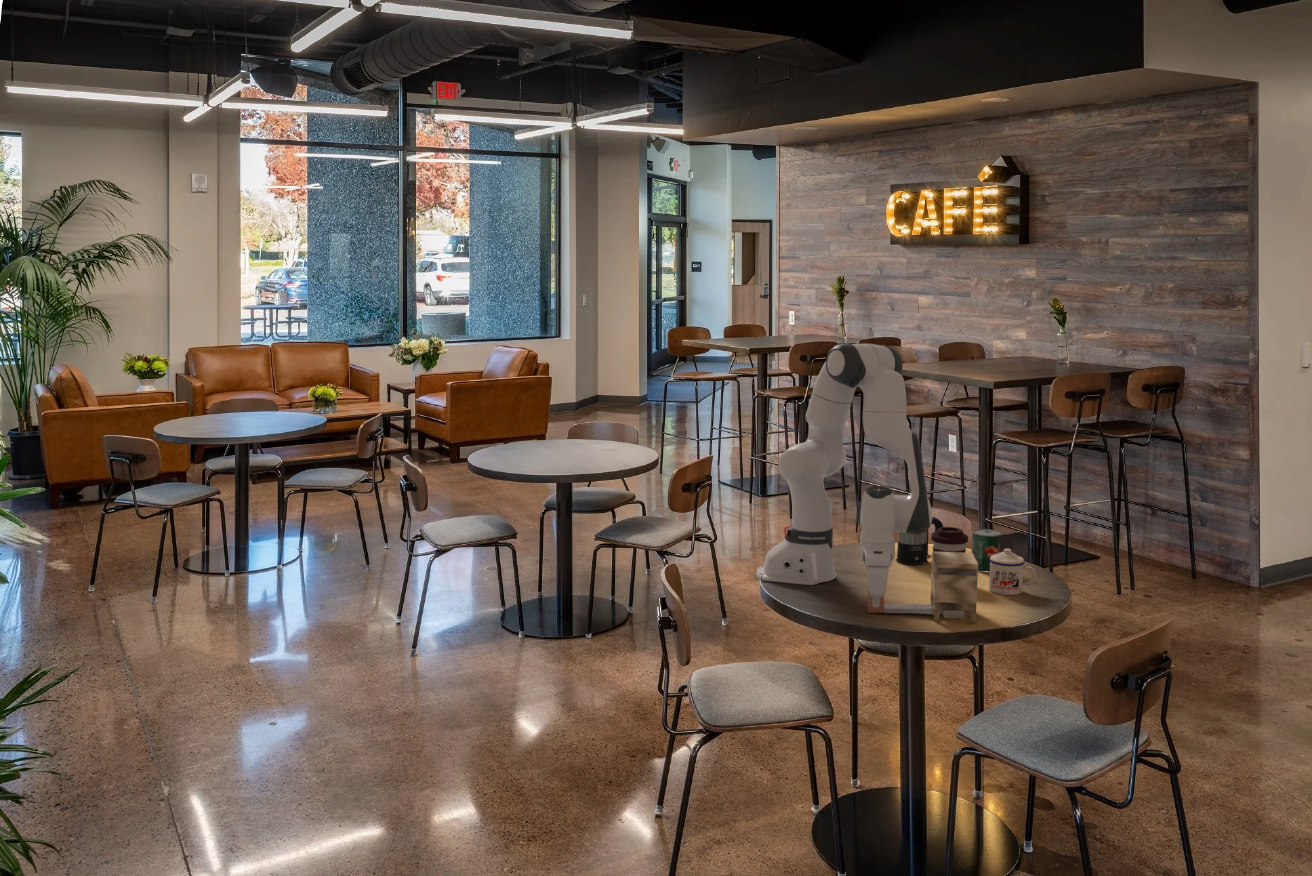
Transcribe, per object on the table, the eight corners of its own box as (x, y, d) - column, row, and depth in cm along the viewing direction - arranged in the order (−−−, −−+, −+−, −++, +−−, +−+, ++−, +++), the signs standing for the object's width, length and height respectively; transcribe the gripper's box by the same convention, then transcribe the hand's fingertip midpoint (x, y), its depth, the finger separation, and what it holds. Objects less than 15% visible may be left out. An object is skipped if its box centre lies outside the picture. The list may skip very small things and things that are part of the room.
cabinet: (934, 621, 273) (936, 563, 271) (930, 607, 284) (932, 551, 282) (975, 623, 272) (978, 564, 269) (970, 609, 283) (972, 552, 281)
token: (944, 619, 276) (944, 610, 276) (940, 613, 281) (940, 604, 281) (964, 620, 276) (964, 610, 275) (960, 613, 281) (960, 604, 280)
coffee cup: (967, 587, 302) (969, 534, 300) (930, 585, 304) (932, 532, 302) (964, 577, 312) (967, 526, 309) (928, 575, 314) (930, 524, 311)
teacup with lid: (987, 594, 296) (989, 552, 294) (988, 585, 305) (990, 544, 303) (1035, 598, 292) (1037, 555, 291) (1034, 588, 301) (1036, 547, 299)
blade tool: (868, 613, 280) (867, 594, 279) (867, 608, 283) (867, 589, 282) (941, 613, 277) (940, 594, 276) (939, 609, 280) (939, 590, 279)
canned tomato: (995, 574, 315) (997, 536, 314) (967, 570, 319) (969, 533, 317) (1001, 567, 322) (1003, 530, 320) (974, 564, 326) (976, 527, 324)
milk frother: (907, 567, 323) (909, 517, 320) (876, 554, 337) (878, 507, 335) (947, 562, 328) (949, 513, 326) (915, 549, 343) (916, 503, 340)
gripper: (863, 540, 289) (862, 591, 291) (865, 560, 269) (863, 615, 271) (887, 541, 288) (886, 592, 290) (891, 561, 268) (889, 616, 270)
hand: (875, 603), depth 281 cm, fingers closed on blade tool, 3 cm apart
